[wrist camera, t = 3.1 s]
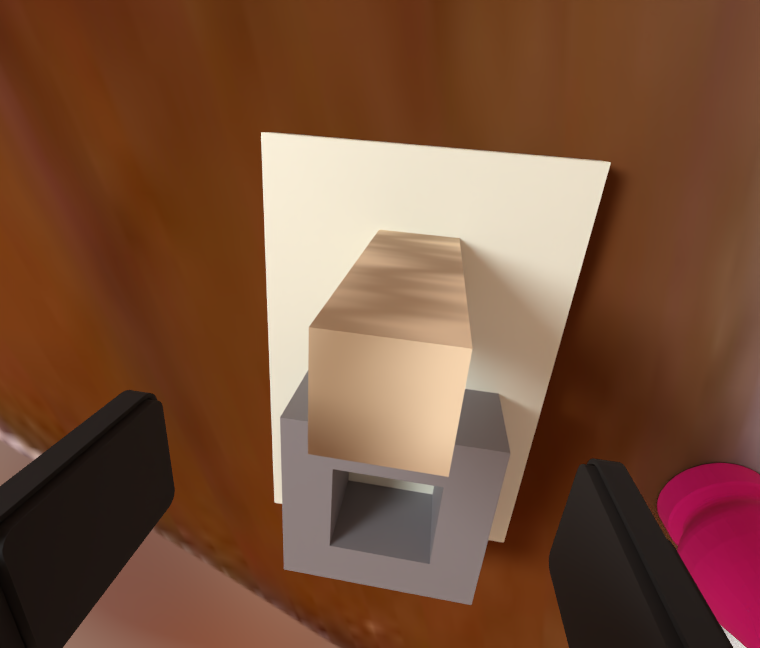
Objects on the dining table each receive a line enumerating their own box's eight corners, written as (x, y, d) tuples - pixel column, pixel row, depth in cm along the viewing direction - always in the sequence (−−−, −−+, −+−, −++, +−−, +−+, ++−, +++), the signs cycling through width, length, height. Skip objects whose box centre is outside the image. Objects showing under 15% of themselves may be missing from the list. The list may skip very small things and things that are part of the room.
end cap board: (600, 160, 20) (662, 171, 14) (501, 524, 30) (514, 619, 24) (272, 132, 22) (207, 131, 16) (281, 486, 32) (244, 567, 26)
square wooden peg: (459, 237, 21) (472, 348, 10) (448, 312, 23) (448, 476, 12) (379, 229, 21) (308, 326, 10) (373, 303, 23) (307, 454, 12)
